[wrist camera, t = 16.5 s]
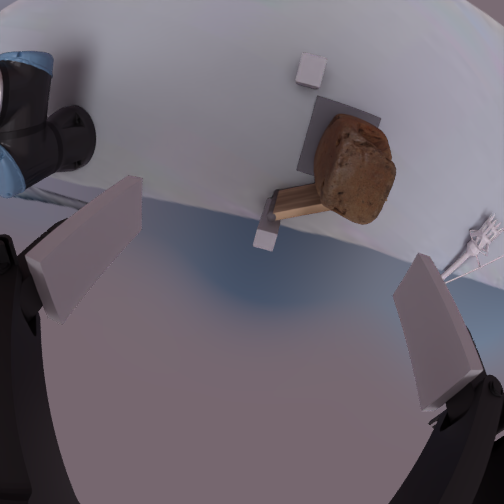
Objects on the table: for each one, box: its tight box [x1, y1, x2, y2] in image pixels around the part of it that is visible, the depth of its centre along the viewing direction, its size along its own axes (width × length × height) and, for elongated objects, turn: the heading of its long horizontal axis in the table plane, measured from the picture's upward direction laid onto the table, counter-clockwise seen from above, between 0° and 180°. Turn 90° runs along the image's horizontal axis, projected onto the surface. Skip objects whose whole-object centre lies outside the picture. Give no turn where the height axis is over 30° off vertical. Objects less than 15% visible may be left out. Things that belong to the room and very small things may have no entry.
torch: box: [441, 214, 504, 284], centre depth 45 cm, size 6×9×25 cm
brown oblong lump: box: [314, 114, 396, 225], centre depth 33 cm, size 11×8×20 cm
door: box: [266, 183, 387, 222], centre depth 42 cm, size 2×18×10 cm, turn 107°
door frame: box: [253, 52, 327, 251], centre depth 39 cm, size 3×28×12 cm, turn 168°
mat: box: [297, 96, 381, 176], centre depth 42 cm, size 11×14×1 cm
